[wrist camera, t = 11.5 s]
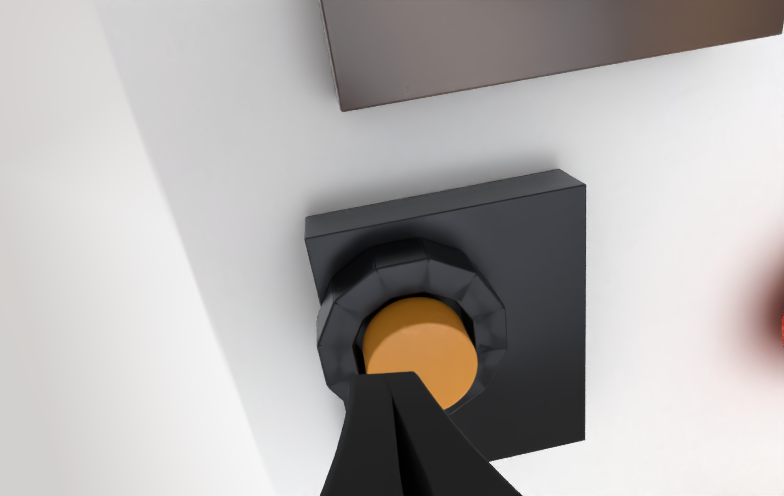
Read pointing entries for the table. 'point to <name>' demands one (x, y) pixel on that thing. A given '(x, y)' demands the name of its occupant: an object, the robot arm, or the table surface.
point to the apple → (783, 328)
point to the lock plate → (515, 40)
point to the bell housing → (471, 297)
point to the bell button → (422, 346)
